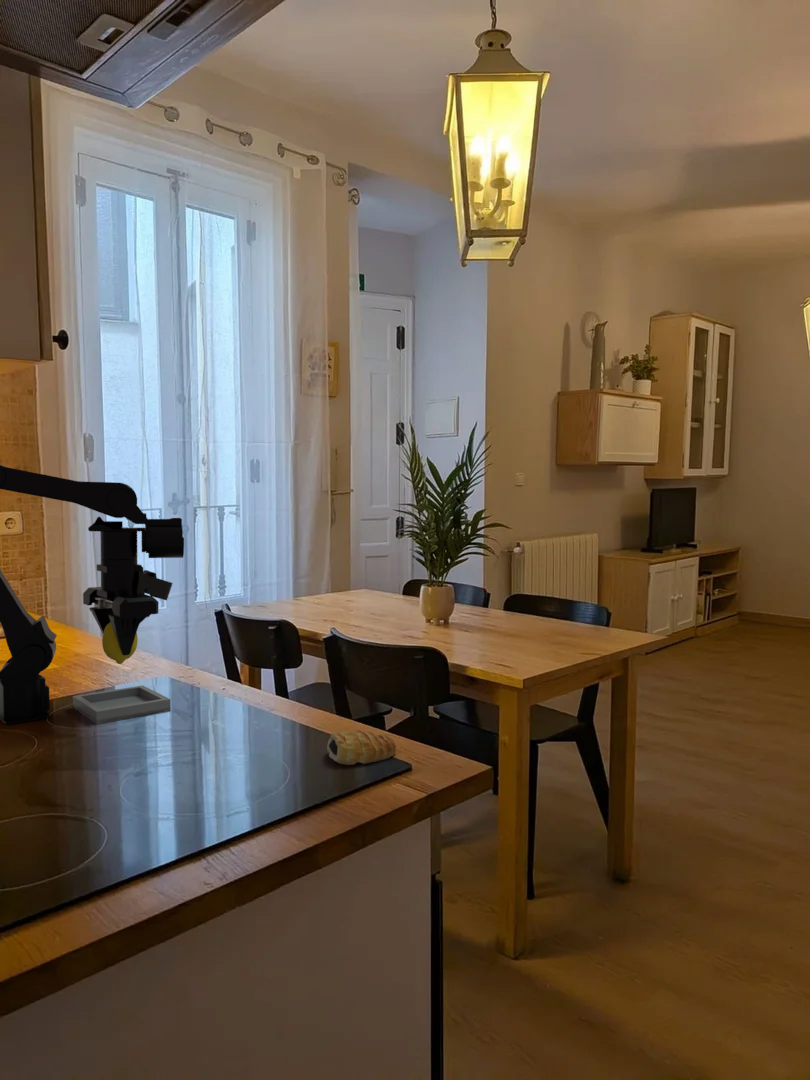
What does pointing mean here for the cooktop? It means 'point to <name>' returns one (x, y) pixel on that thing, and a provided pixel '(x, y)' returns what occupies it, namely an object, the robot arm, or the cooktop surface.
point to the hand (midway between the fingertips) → (119, 652)
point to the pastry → (359, 747)
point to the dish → (121, 704)
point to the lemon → (115, 645)
